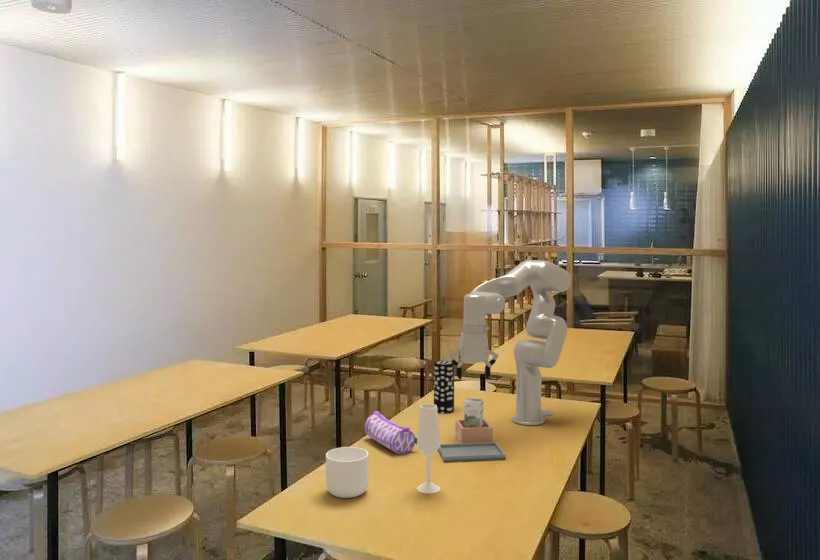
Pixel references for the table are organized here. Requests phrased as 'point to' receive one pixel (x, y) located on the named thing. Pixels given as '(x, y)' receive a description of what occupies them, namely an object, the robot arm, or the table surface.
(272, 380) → the table surface
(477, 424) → the syrup box
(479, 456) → the tray
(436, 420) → the champagne flute
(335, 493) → the handleless ceramic cup
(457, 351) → the robot arm
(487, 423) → the holder
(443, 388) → the spotted tube
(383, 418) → the pencil case
